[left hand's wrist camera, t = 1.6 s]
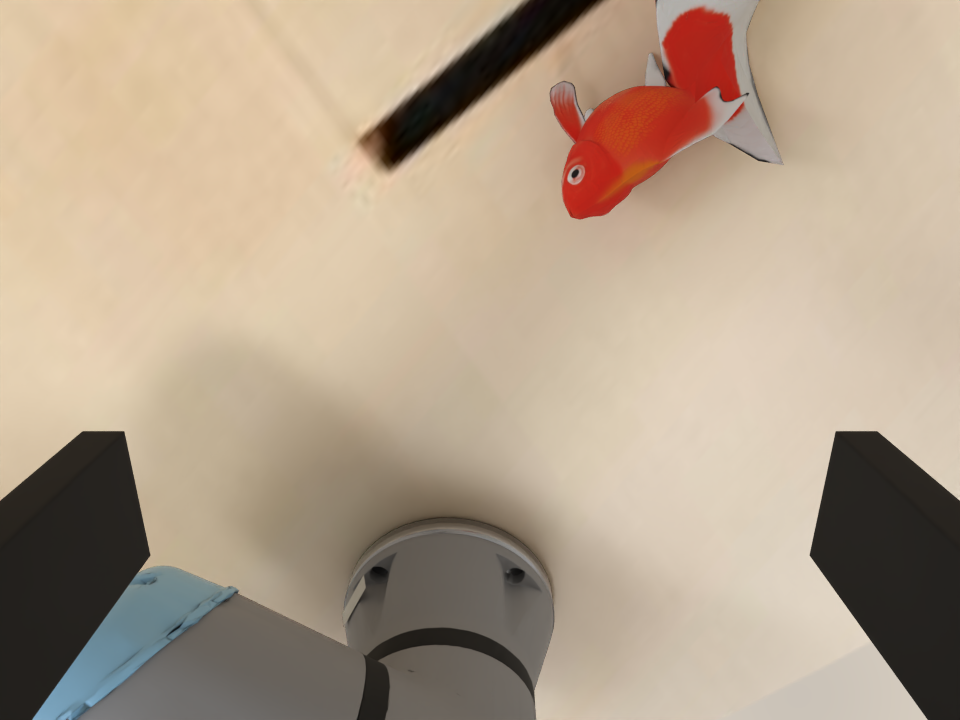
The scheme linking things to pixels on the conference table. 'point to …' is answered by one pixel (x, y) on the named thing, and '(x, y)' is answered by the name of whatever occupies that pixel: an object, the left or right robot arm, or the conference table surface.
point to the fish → (666, 106)
